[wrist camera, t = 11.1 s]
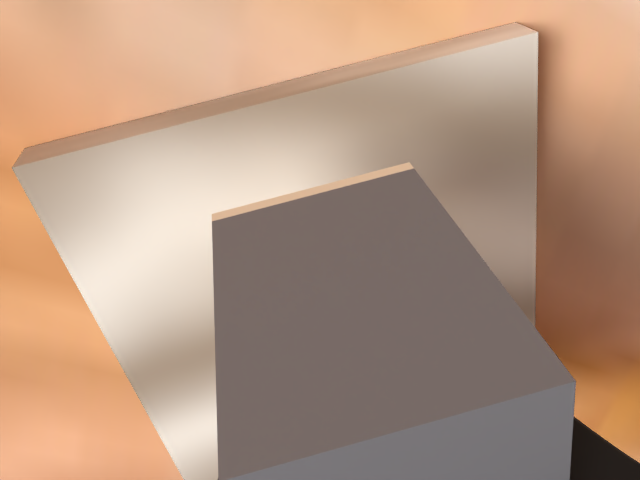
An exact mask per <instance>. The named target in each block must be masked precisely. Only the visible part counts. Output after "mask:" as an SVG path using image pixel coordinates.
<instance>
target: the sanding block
mask: <svg viewBox="0 0 640 480" xmlns="http://www.w3.org/2000/svg"><path fill="white" fill-rule="evenodd" d="M212 247H213V287H214V326H215V365H216V405H217V444H218V480H570V465H571V449H572V434H573V418H574V402H575V387H576V381H575V379H574V378H573V377H572V376H571V374H570V373H569V372H568V370H567V369H566V368H565V366H564V365H563V364H562V362H561V361H560V360H559V358H558V357H557V356H556V354H555V353H554V352H553V351H552V349H551V348H550V347H549V345H548V344H547V343H546V341H545V340H544V339H543V337H542V336H541V335H540V333H539V332H538V331H537V329H536V328H535V327H534V326H533V324H532V323H531V322H530V320H529V319H528V318H527V316H526V315H525V314H524V312H523V311H522V310H521V308H520V307H519V306H518V304H517V303H516V302H515V301H514V299H513V298H512V297H511V295H510V294H509V293H508V291H507V290H506V289H505V287H504V286H503V285H502V283H501V282H500V281H499V279H498V278H497V277H496V276H495V274H494V273H493V272H492V270H491V269H490V268H489V266H488V265H487V264H486V262H485V261H484V260H483V258H482V257H481V256H480V254H479V253H478V252H477V251H476V249H475V248H474V247H473V245H472V244H471V243H470V241H469V240H468V239H467V237H466V236H465V235H464V233H463V232H462V231H461V229H460V228H459V227H458V226H457V224H456V223H455V222H454V220H453V219H452V218H451V216H450V215H449V214H448V212H447V211H446V210H445V208H444V207H443V206H442V204H441V203H440V202H439V201H438V199H437V198H436V197H435V195H434V194H433V193H432V191H431V190H430V189H429V187H428V186H427V185H426V183H425V182H424V181H423V179H422V178H421V177H420V175H419V174H418V173H417V172H416V170H415V169H414V168H413V166H412V165H411V164H410V162H408V163H404V164H400V165H396V166H393V167H389V168H385V169H381V170H377V171H374V172H370V173H366V174H362V175H358V176H355V177H351V178H347V179H343V180H339V181H335V182H332V183H328V184H324V185H320V186H316V187H313V188H309V189H305V190H301V191H297V192H294V193H290V194H286V195H282V196H278V197H274V198H271V199H267V200H263V201H259V202H255V203H252V204H248V205H244V206H240V207H236V208H232V209H229V210H225V211H221V212H217V213H213V214H212Z"/></svg>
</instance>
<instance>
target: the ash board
mask: <svg viewBox="0 0 640 480" xmlns="http://www.w3.org/2000/svg"><path fill="white" fill-rule="evenodd" d="M537 106H538V32H537V31H535V30H532V29H530V28H528V27H525V26H523V25H521V24H518V23H516V22H515V23H511V24H507V25H503V26H499V27H495V28H491V29H487V30H483V31H480V32H476V33H472V34H468V35H464V36H460V37H456V38H452V39H448V40H445V41H441V42H437V43H433V44H429V45H425V46H421V47H417V48H413V49H409V50H406V51H402V52H398V53H394V54H390V55H386V56H382V57H378V58H374V59H370V60H367V61H363V62H359V63H355V64H351V65H347V66H343V67H339V68H335V69H332V70H328V71H324V72H320V73H316V74H312V75H308V76H304V77H300V78H296V79H293V80H289V81H285V82H281V83H277V84H273V85H269V86H265V87H261V88H257V89H254V90H250V91H246V92H242V93H238V94H234V95H230V96H226V97H222V98H218V99H215V100H211V101H207V102H203V103H199V104H195V105H191V106H187V107H183V108H180V109H176V110H172V111H168V112H164V113H160V114H156V115H152V116H148V117H144V118H141V119H137V120H133V121H129V122H125V123H121V124H117V125H113V126H109V127H105V128H102V129H98V130H94V131H90V132H86V133H82V134H78V135H74V136H70V137H67V138H63V139H59V140H55V141H51V142H47V143H43V144H39V145H35V146H31V147H28V148H25V149H24V150H23V152H22V153H21V155H20V156H19V158H18V159H17V161H16V162H15V164H14V165H13V167H12V169H13V171H14V173H15V175H16V176H17V178H18V180H19V182H20V184H21V185H22V187H23V189H24V191H25V193H26V195H27V196H28V198H29V200H30V202H31V204H32V205H33V207H34V209H35V211H36V213H37V214H38V216H39V218H40V220H41V222H42V224H43V225H44V227H45V229H46V231H47V233H48V234H49V236H50V238H51V240H52V242H53V243H54V245H55V247H56V249H57V251H58V253H59V254H60V256H61V258H62V260H63V262H64V263H65V265H66V267H67V269H68V271H69V272H70V274H71V276H72V278H73V280H74V282H75V283H76V285H77V287H78V289H79V291H80V292H81V294H82V296H83V298H84V300H85V302H86V303H87V305H88V307H89V309H90V311H91V312H92V314H93V316H94V318H95V320H96V321H97V323H98V325H99V327H100V329H101V331H102V332H103V334H104V336H105V338H106V340H107V341H108V343H109V345H110V347H111V349H112V350H113V352H114V354H115V356H116V358H117V360H118V361H119V363H120V365H121V367H122V369H123V370H124V372H125V374H126V376H127V378H128V379H129V381H130V383H131V385H132V387H133V389H134V390H135V392H136V394H137V396H138V398H139V399H140V401H141V403H142V405H143V407H144V409H145V410H146V412H147V414H148V416H149V418H150V419H151V421H152V423H153V425H154V427H155V428H156V430H157V432H158V434H159V436H160V438H161V439H162V441H163V443H164V445H165V447H166V448H167V450H168V452H169V454H170V456H171V457H172V459H173V461H174V463H175V465H176V467H177V468H178V470H179V472H180V474H181V476H182V477H183V479H184V480H218V444H217V405H216V365H215V326H214V287H213V247H212V214H213V213H217V212H221V211H225V210H229V209H232V208H236V207H240V206H244V205H248V204H252V203H255V202H259V201H263V200H267V199H271V198H274V197H278V196H282V195H286V194H290V193H294V192H297V191H301V190H305V189H309V188H313V187H316V186H320V185H324V184H328V183H332V182H335V181H339V180H343V179H347V178H351V177H355V176H358V175H362V174H366V173H370V172H374V171H377V170H381V169H385V168H389V167H393V166H396V165H400V164H404V163H408V162H410V164H411V165H412V166H413V168H414V169H415V170H416V172H417V173H418V174H419V175H420V177H421V178H422V179H423V181H424V182H425V183H426V185H427V186H428V187H429V189H430V190H431V191H432V193H433V194H434V195H435V197H436V198H437V199H438V201H439V202H440V203H441V204H442V206H443V207H444V208H445V210H446V211H447V212H448V214H449V215H450V216H451V218H452V219H453V220H454V222H455V223H456V224H457V226H458V227H459V228H460V229H461V231H462V232H463V233H464V235H465V236H466V237H467V239H468V240H469V241H470V243H471V244H472V245H473V247H474V248H475V249H476V251H477V252H478V253H479V254H480V256H481V257H482V258H483V260H484V261H485V262H486V264H487V265H488V266H489V268H490V269H491V270H492V272H493V273H494V274H495V276H496V277H497V278H498V279H499V281H500V282H501V283H502V285H503V286H504V287H505V289H506V290H507V291H508V293H509V294H510V295H511V297H512V298H513V299H514V301H515V302H516V303H517V304H518V306H519V307H520V308H521V310H522V311H523V312H524V314H525V315H526V316H527V318H528V319H529V320H530V322H531V323H532V324H533V326H534V327H535V309H536V208H537Z"/></svg>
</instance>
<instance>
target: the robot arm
mask: <svg viewBox="0 0 640 480" xmlns="http://www.w3.org/2000/svg"><path fill="white" fill-rule="evenodd" d="M570 480H640V463H639V462H637V461H635V460H634V459H632V458H631V457H629V456H628V455H626V454H625V453H624V452H622V451H621V450H619V449H618V448H616V447H615V446H613V445H612V444H611V443H609V442H608V441H606V440H605V439H604V438H602V437H601V436H599V435H598V434H597V433H595V432H594V431H592V430H591V429H590V428H588V427H587V426H586V425H584V424H583V423H582V422H580V421H579V420H578V419H576V418H575V417H574V418H573V434H572V449H571V465H570Z"/></svg>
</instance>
